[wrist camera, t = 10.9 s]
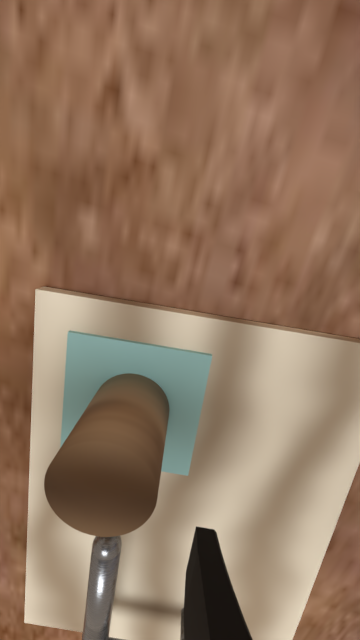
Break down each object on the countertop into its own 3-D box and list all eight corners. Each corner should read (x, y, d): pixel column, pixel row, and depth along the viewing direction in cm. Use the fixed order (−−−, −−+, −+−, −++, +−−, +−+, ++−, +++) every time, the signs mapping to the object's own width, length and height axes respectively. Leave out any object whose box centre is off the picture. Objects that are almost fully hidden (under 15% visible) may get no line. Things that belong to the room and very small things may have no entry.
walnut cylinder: (163, 446, 18) (149, 544, 12) (91, 435, 18) (41, 527, 12) (174, 380, 17) (164, 452, 11) (97, 367, 17) (46, 433, 11)
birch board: (390, 343, 17) (402, 350, 16) (278, 648, 24) (282, 665, 23) (44, 286, 17) (35, 289, 16) (31, 607, 24) (24, 622, 23)
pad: (212, 354, 17) (212, 355, 16) (188, 472, 19) (188, 475, 18) (70, 330, 17) (67, 331, 16) (61, 451, 19) (59, 454, 18)
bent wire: (225, 507, 19) (233, 570, 15) (196, 621, 22) (197, 697, 18) (108, 488, 19) (89, 546, 15) (94, 604, 22) (75, 677, 18)
